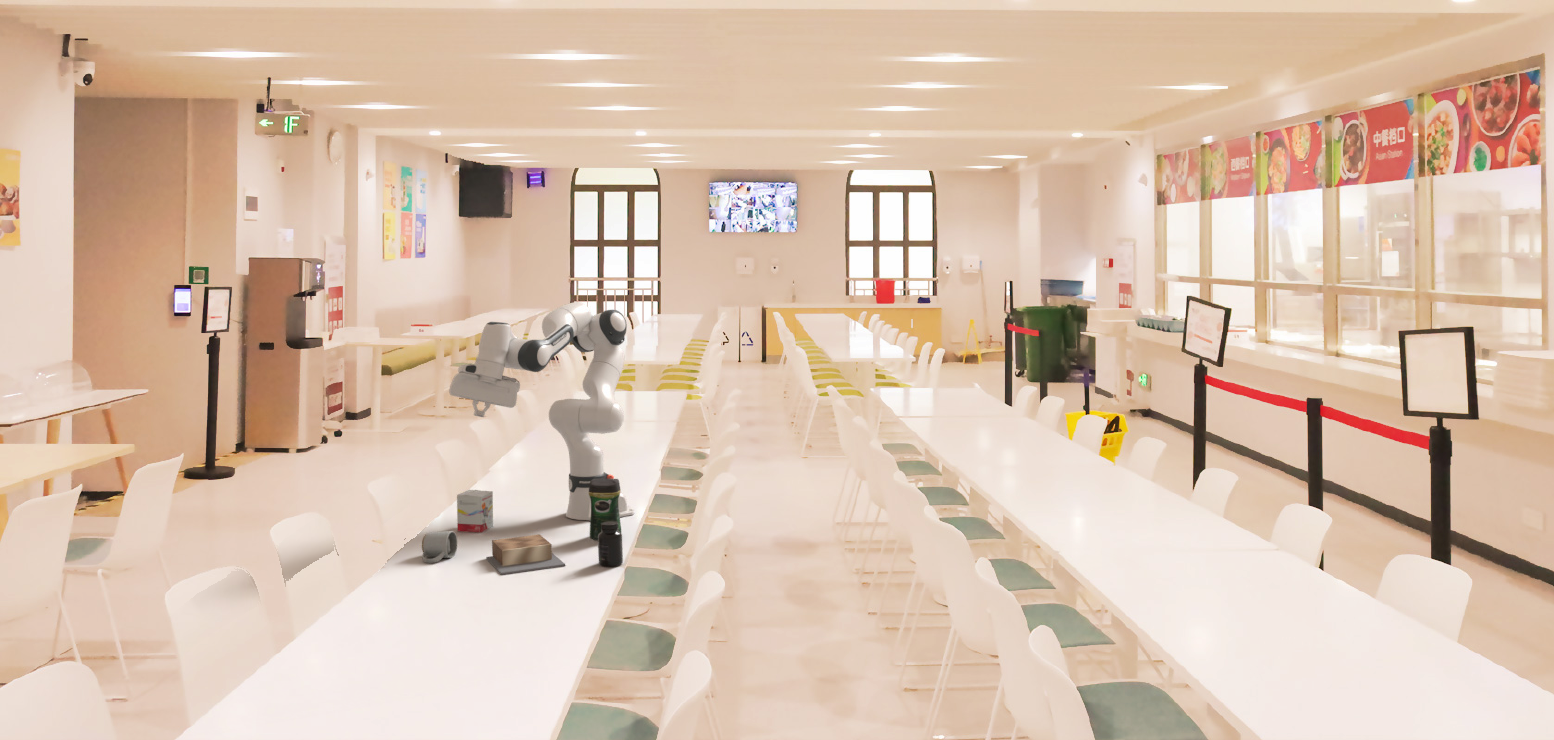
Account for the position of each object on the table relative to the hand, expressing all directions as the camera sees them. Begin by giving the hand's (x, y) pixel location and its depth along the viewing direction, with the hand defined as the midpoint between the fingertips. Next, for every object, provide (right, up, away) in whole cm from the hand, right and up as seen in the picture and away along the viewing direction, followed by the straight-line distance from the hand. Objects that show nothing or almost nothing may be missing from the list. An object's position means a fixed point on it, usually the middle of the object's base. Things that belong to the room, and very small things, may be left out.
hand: (478, 416), depth 331 cm
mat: (+20, -41, -23) cm, 51 cm away
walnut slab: (+15, -37, -15) cm, 42 cm away
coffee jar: (+38, -38, +4) cm, 54 cm away
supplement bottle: (+44, -41, -24) cm, 65 cm away
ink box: (-5, -37, +13) cm, 39 cm away
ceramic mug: (-6, -40, -19) cm, 45 cm away
